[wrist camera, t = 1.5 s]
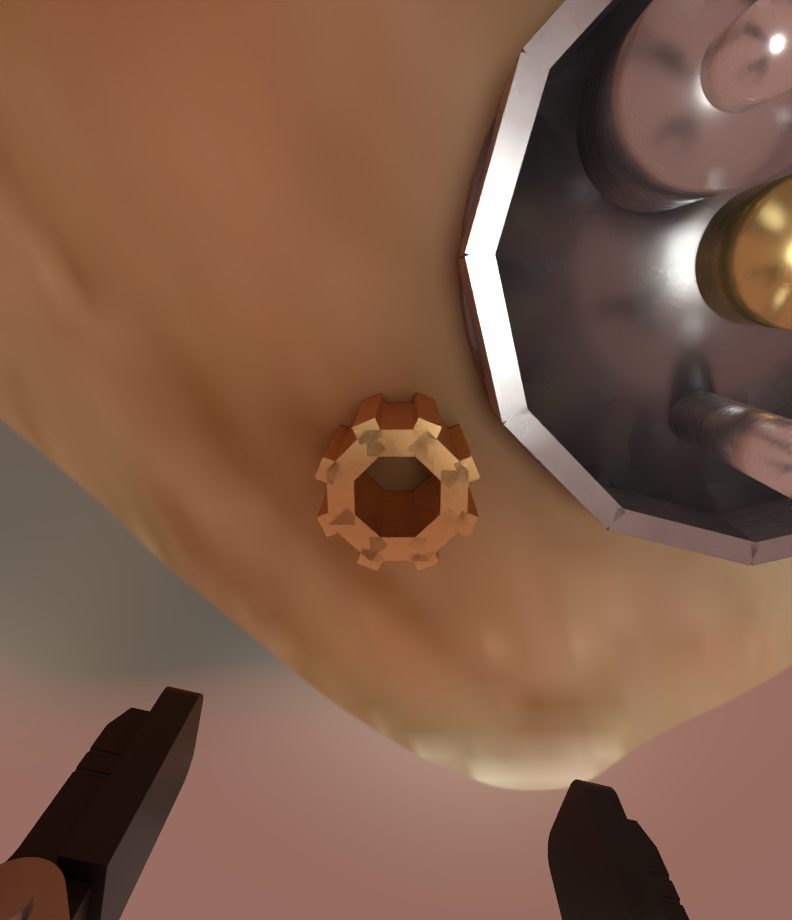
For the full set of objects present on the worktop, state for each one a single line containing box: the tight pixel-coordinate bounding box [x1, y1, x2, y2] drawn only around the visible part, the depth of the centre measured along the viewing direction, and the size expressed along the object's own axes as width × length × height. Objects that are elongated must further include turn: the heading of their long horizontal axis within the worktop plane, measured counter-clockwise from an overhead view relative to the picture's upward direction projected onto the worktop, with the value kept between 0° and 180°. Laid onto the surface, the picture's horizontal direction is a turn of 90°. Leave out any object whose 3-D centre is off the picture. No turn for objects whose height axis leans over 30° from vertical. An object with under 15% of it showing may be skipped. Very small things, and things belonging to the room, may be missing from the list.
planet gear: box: [315, 393, 480, 571], centre depth 22 cm, size 6×6×5 cm
